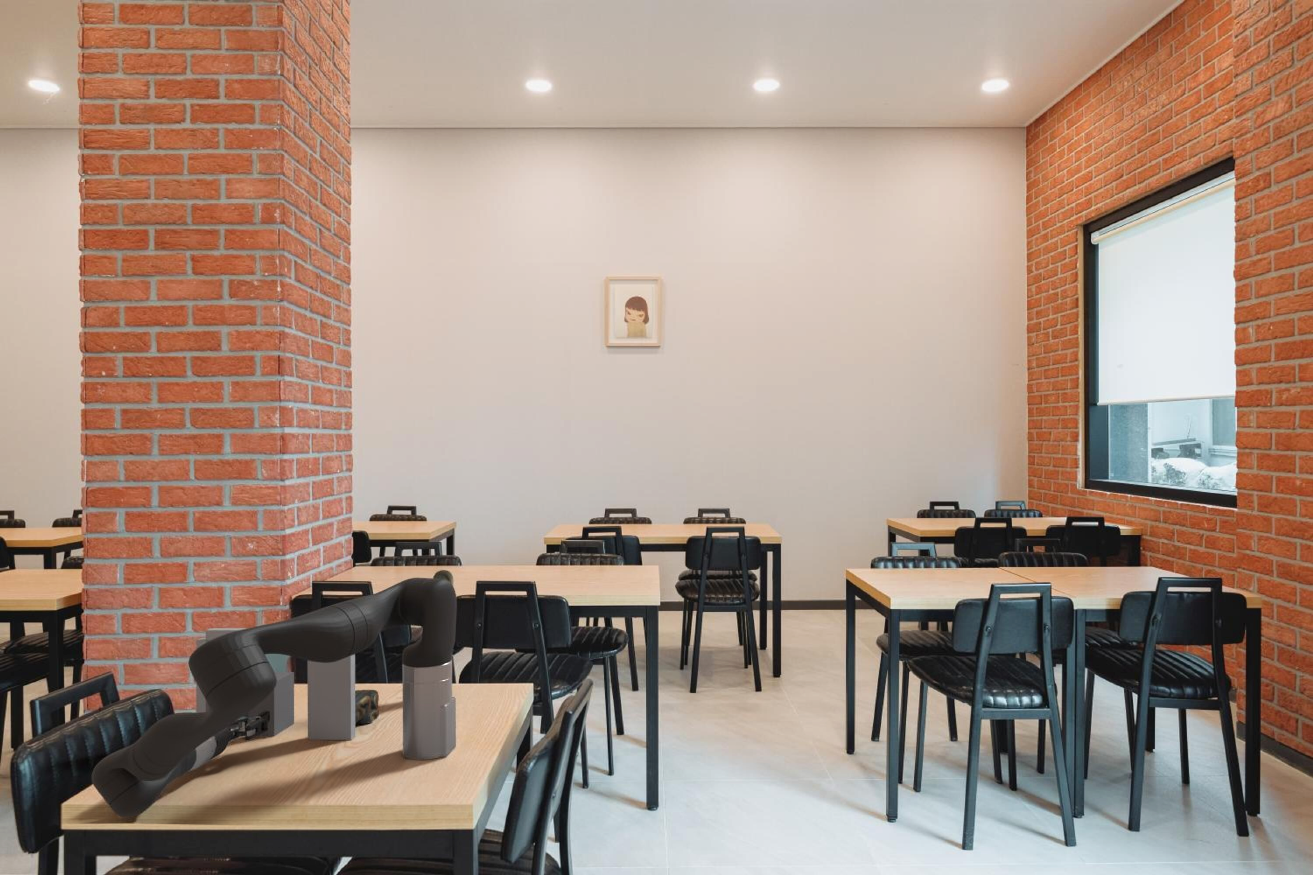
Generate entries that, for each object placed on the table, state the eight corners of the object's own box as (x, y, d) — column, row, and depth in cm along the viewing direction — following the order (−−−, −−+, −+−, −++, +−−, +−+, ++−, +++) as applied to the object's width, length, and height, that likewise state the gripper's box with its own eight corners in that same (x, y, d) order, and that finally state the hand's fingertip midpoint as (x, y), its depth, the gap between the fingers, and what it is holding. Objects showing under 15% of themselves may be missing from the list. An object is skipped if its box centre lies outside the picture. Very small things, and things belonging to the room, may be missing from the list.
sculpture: (356, 736, 165) (356, 701, 165) (325, 735, 165) (326, 701, 165) (382, 716, 178) (382, 684, 178) (353, 716, 178) (353, 684, 178)
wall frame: (355, 736, 164) (354, 628, 165) (350, 739, 162) (350, 630, 163) (202, 734, 167) (202, 628, 167) (196, 738, 165) (196, 630, 165)
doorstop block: (294, 723, 173) (294, 672, 173) (274, 736, 165) (274, 682, 165) (269, 723, 174) (269, 672, 174) (248, 736, 166) (248, 682, 166)
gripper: (156, 766, 144) (213, 735, 161) (232, 766, 143) (282, 734, 159) (156, 724, 145) (212, 697, 161) (232, 723, 143) (281, 696, 160)
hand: (247, 715), depth 160 cm, fingers open, 8 cm apart
